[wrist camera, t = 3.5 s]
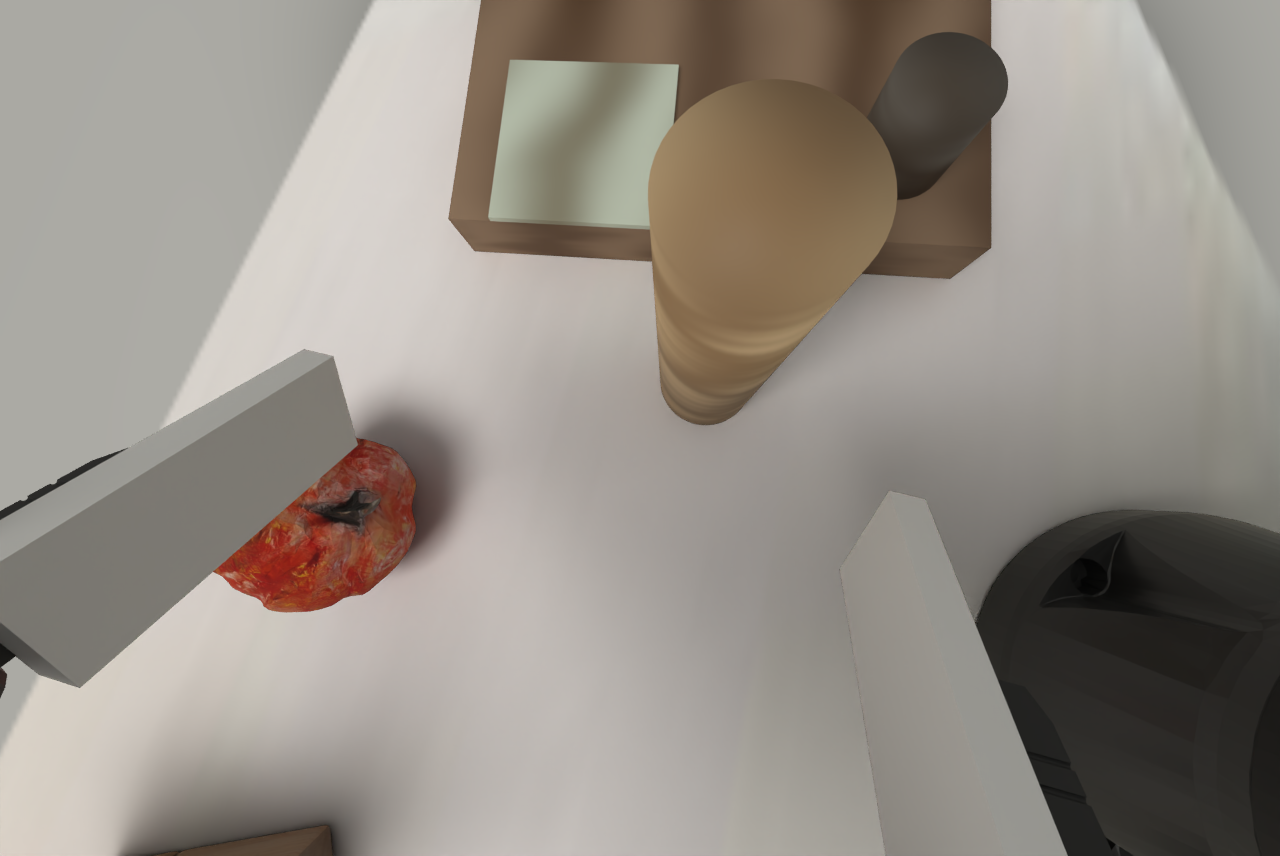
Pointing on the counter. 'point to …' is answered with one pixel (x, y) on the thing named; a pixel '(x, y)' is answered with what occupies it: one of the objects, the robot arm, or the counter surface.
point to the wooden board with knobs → (695, 68)
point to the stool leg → (758, 233)
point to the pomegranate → (331, 535)
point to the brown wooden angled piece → (271, 845)
